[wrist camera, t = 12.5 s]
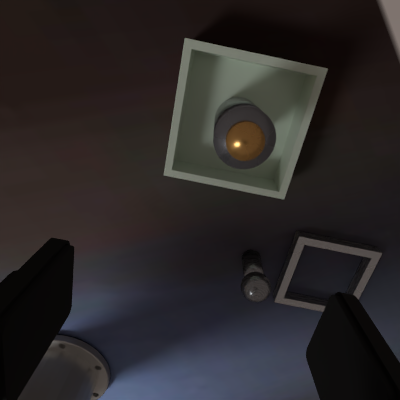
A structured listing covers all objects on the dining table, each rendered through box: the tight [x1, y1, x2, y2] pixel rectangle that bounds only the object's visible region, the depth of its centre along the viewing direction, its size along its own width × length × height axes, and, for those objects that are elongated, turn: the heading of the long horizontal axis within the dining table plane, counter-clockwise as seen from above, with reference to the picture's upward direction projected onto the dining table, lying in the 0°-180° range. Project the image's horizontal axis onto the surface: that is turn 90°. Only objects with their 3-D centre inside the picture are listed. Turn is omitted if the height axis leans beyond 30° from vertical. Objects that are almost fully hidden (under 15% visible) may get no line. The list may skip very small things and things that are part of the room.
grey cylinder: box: [213, 97, 276, 169], centre depth 23 cm, size 4×4×9 cm
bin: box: [164, 38, 328, 200], centre depth 26 cm, size 11×11×4 cm
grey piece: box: [241, 231, 382, 312], centre depth 30 cm, size 9×14×6 cm, turn 79°
